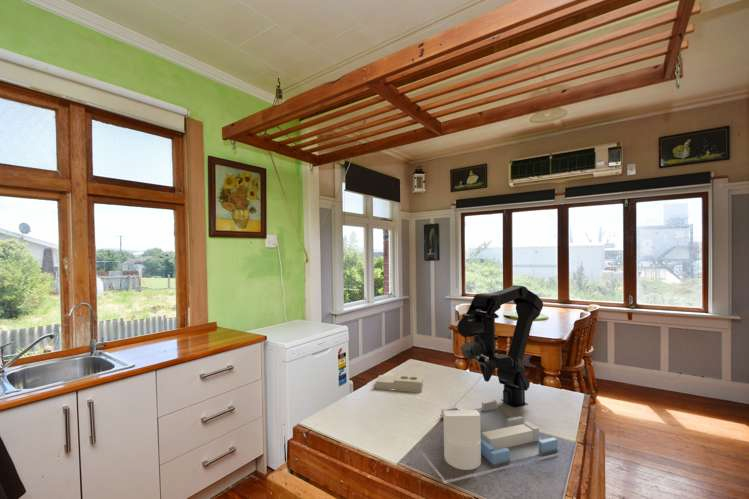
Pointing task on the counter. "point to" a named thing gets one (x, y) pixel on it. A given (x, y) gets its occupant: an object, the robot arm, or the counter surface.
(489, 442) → the long cream plank
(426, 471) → the counter surface
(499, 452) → the board
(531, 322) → the robot arm
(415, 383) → the electrical outlet
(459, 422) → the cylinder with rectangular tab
